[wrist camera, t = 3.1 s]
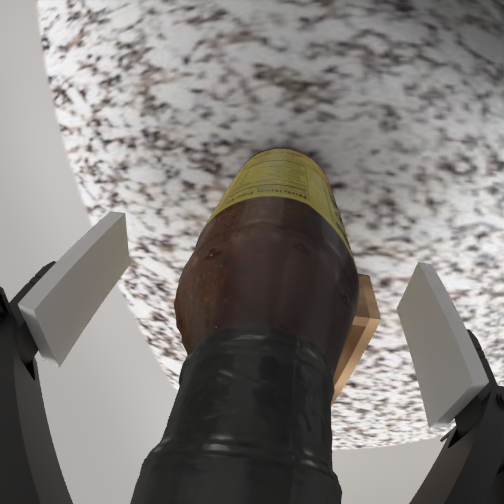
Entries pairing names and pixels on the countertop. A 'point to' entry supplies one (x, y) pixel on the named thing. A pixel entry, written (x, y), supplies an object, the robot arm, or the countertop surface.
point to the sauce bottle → (259, 345)
